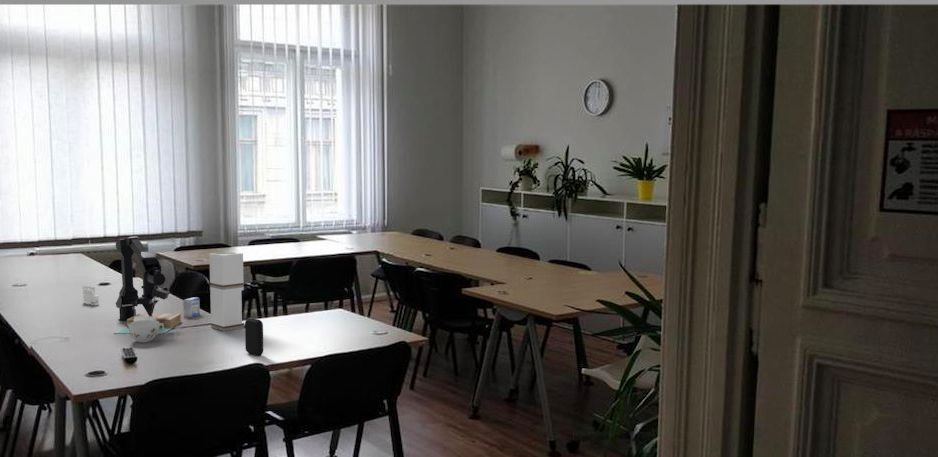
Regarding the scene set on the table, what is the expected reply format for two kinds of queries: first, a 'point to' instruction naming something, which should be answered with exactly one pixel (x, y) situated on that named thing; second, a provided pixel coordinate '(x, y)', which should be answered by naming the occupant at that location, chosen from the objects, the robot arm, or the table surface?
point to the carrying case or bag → (254, 336)
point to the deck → (162, 319)
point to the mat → (127, 331)
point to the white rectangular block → (144, 318)
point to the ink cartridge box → (90, 296)
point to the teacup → (144, 330)
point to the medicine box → (191, 307)
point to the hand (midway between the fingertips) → (150, 316)
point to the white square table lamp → (226, 290)
